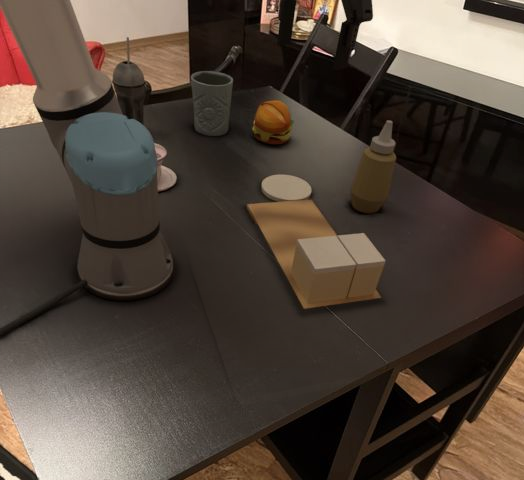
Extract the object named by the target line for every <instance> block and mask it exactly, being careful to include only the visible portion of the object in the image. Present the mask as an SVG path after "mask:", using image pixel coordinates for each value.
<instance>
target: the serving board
mask: <svg viewBox="0 0 524 480" xmlns="http://www.w3.org/2000/svg"><path fill="white" fill-rule="evenodd" d="M246 210H247V212H248V214H249V216H250V217H251V219H252V221H253V222H254V224H255V225H258V227H259V229H260V231H261V232H262V234H263V236H264V238H265V240H266V242H267V244H268V245H269V247H270V249H271V251H272V253H273V255H274V256H275V259H276V260H277V262H278V264H279V266H280V268H281V269H282V271H283V273H284V275H285V277H286V279H287V281H288V282H289V284H290V286H291V287H292V290H293V291H294V294H295V296H297V297H296V298H297V299H298V300H299V302H300V304H301V307H302V308H303V309H312V308H320V307H326V306H333V305H340V304H347V303H354V302H355V303H356V302H362V301H370V300H375V299H383V298H382V296H381V294H380V293H379V292H378V290H377V289H376V290H375V293H374V294H373V295H366V296H359V297H351V298H347V296H346V298H344V299H337V300H330V301H322V302H315V303H307V302H306V300H305V298H304V296H303V294H302V293H301V291H300V289H299V287H298V285H297V284H296V282H295V280H294V278H293V277H292V275H291V270H292V265H293V259H294V254H295V248H296V243H297V239H307V238H317V237H328V236H336V237H337V236H338V235H337V233H336V231H334V229H333V228H332V226H331V224H330V223H329V222H328V221H327V219H326V218H325V216H324V215H323V213H322V212H321V211H320V210H319V208H318V207H317V205H316V203H314V201H313V199H308V200H298V201H284V202H277V201H271V202H259V203H257V202H256V203H247V204H246Z"/></svg>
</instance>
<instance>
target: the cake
mask: <svg viewBox="0 0 524 480" xmlns="http://www.w3.org/2000/svg"><path fill="white" fill-rule="evenodd" d="M355 267H356V263H355V262H354V261H353V259H352V258H351V256H350V255H349V254H348V252H347V251H346V249H345V248H344V247H343V245H342V244H341V242H340V241H339V240H338V238H337V237H336V236H328V237H317V238H307V239H297V243H296V248H295V254H294V259H293V265H292V270H291V275H292V277H293V278H294V280H295V282H296V284H297V285H298V287H299V289H300V291H301V293H302V294H303V296H304V298H305V300H306V302H307V303H315V302H322V301H330V300H337V299H344V298H346V296H347V293H348V290H349V286H350V283H351V280H352V277H353V273H354V270H355Z"/></svg>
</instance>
